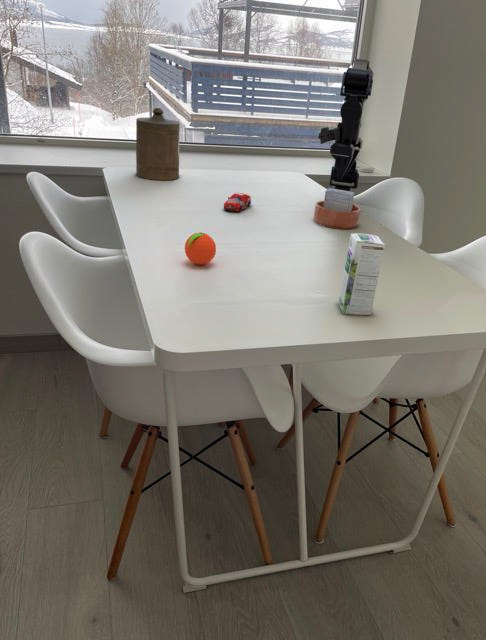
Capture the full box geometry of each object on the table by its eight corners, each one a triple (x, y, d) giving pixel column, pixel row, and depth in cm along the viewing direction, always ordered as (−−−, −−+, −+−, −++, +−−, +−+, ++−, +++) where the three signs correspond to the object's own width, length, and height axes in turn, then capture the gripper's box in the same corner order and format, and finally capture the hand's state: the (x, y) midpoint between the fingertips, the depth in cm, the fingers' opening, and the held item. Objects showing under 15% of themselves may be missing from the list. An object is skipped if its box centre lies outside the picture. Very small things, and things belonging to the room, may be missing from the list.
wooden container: (187, 177, 209) (188, 110, 198) (159, 182, 198) (159, 111, 187) (156, 169, 215) (156, 104, 204) (127, 174, 204) (125, 105, 193)
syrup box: (337, 303, 118) (349, 232, 111) (365, 304, 119) (379, 234, 112) (342, 314, 113) (355, 241, 106) (372, 316, 114) (386, 243, 107)
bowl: (318, 214, 180) (321, 198, 178) (360, 221, 177) (363, 205, 175) (309, 224, 169) (311, 207, 166) (353, 232, 166) (356, 214, 164)
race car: (237, 214, 171) (238, 200, 169) (220, 211, 173) (221, 197, 171) (253, 205, 182) (254, 192, 180) (237, 202, 184) (238, 189, 182)
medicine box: (350, 221, 174) (355, 192, 170) (347, 225, 170) (351, 194, 166) (324, 217, 176) (329, 187, 171) (321, 220, 172) (325, 190, 168)
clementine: (199, 272, 126) (200, 240, 122) (174, 264, 129) (175, 232, 125) (221, 264, 132) (223, 233, 128) (197, 256, 135) (198, 226, 131)
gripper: (329, 112, 172) (322, 167, 181) (315, 118, 157) (308, 178, 165) (366, 117, 170) (357, 172, 178) (356, 124, 155) (346, 184, 163)
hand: (342, 176), depth 171 cm, fingers open, 9 cm apart
